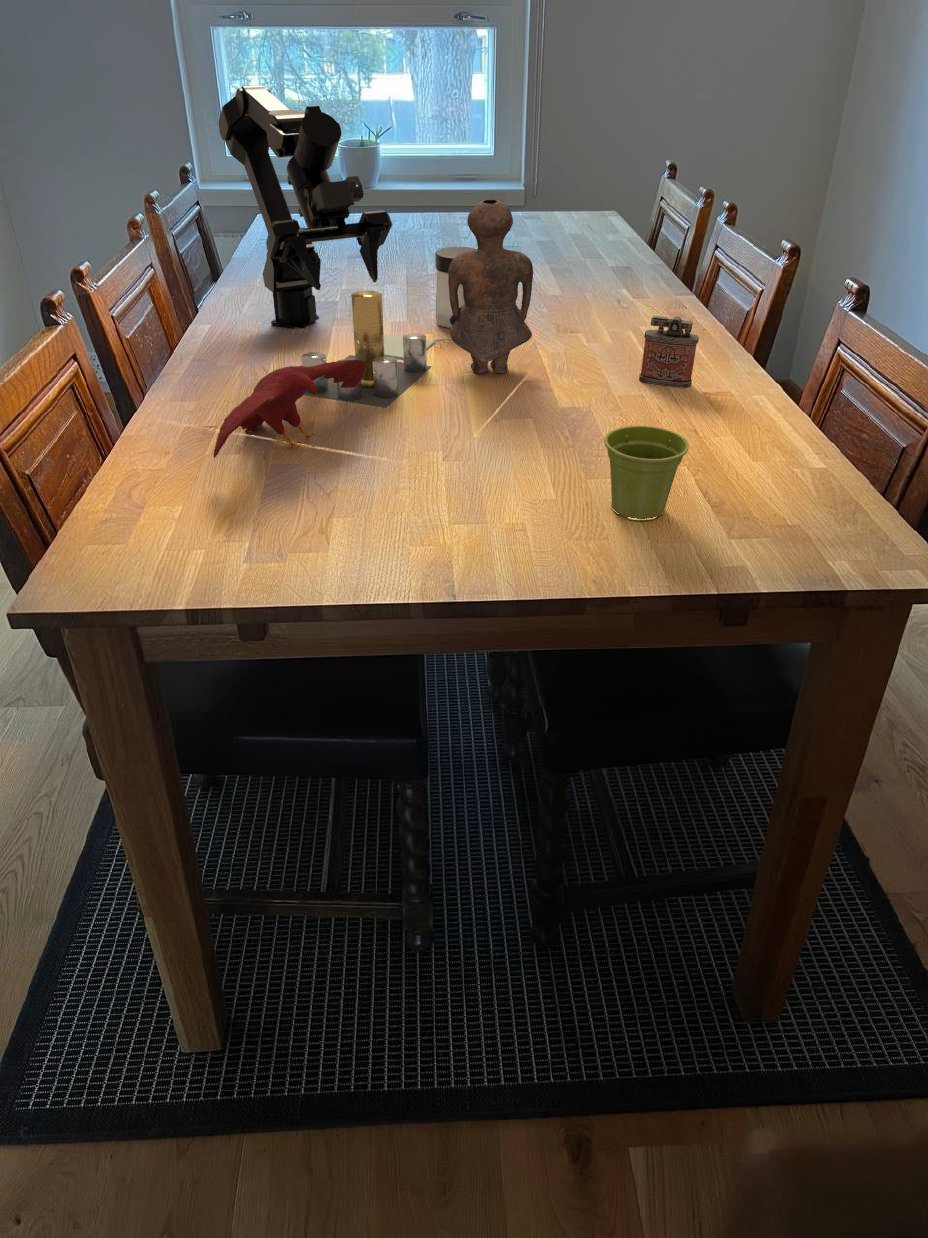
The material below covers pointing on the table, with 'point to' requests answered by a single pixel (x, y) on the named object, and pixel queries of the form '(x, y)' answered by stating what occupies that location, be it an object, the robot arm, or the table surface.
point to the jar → (446, 284)
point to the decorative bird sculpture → (285, 397)
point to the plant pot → (643, 468)
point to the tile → (397, 346)
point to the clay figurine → (490, 291)
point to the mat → (368, 394)
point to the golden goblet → (368, 331)
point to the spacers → (377, 369)
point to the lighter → (669, 353)
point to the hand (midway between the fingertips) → (347, 284)
